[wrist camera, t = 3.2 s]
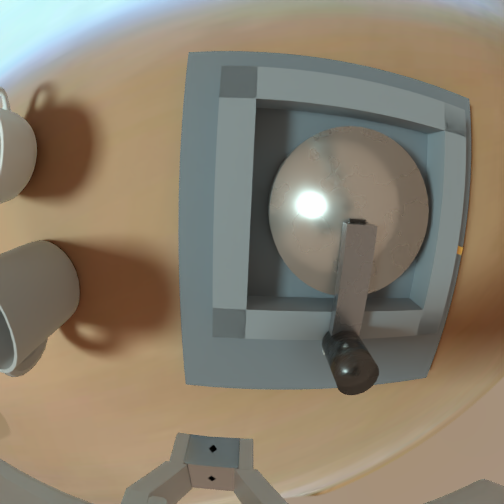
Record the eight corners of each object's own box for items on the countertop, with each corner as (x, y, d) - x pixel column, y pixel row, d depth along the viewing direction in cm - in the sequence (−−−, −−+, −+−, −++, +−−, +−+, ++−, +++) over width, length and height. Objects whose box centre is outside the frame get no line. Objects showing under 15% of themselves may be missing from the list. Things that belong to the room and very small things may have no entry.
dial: (271, 123, 17) (281, 96, 11) (417, 144, 17) (474, 137, 11) (259, 339, 20) (262, 397, 14) (390, 337, 20) (426, 385, 14)
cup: (84, 249, 20) (8, 289, 11) (84, 354, 22) (35, 416, 14) (21, 230, 20) (-53, 257, 11) (27, 329, 22) (-27, 375, 13)
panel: (192, 59, 17) (181, 38, 13) (460, 101, 17) (485, 94, 14) (188, 375, 23) (180, 402, 19) (420, 370, 23) (436, 391, 20)
